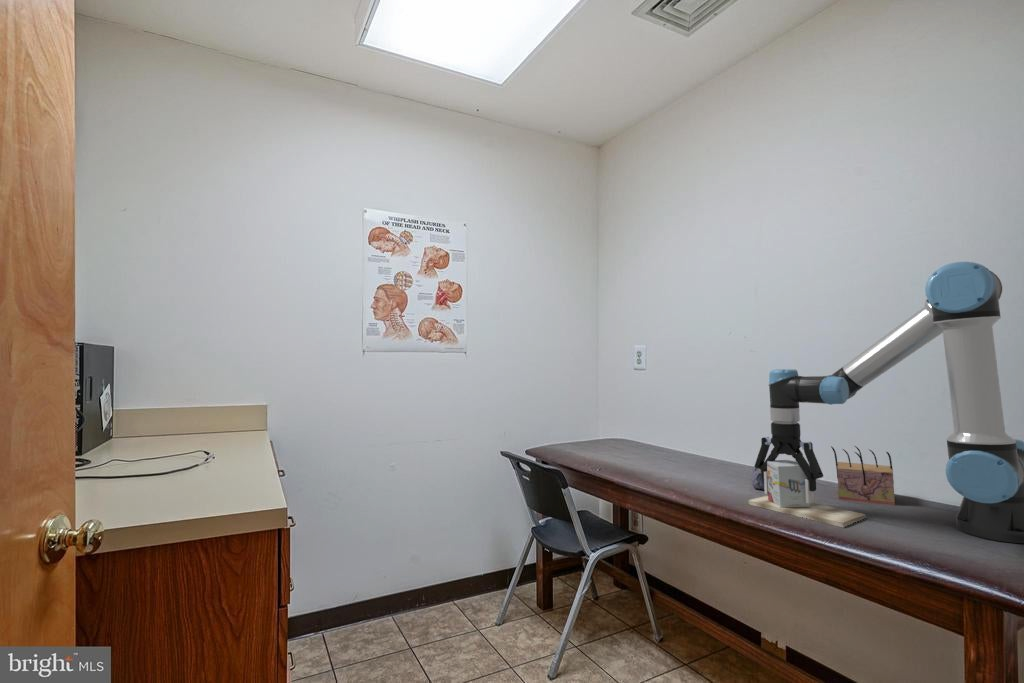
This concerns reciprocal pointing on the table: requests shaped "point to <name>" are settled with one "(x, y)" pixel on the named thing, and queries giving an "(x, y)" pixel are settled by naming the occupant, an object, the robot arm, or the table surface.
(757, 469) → the rock
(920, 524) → the table surface
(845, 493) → the anatomical model
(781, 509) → the board
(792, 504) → the ink box
